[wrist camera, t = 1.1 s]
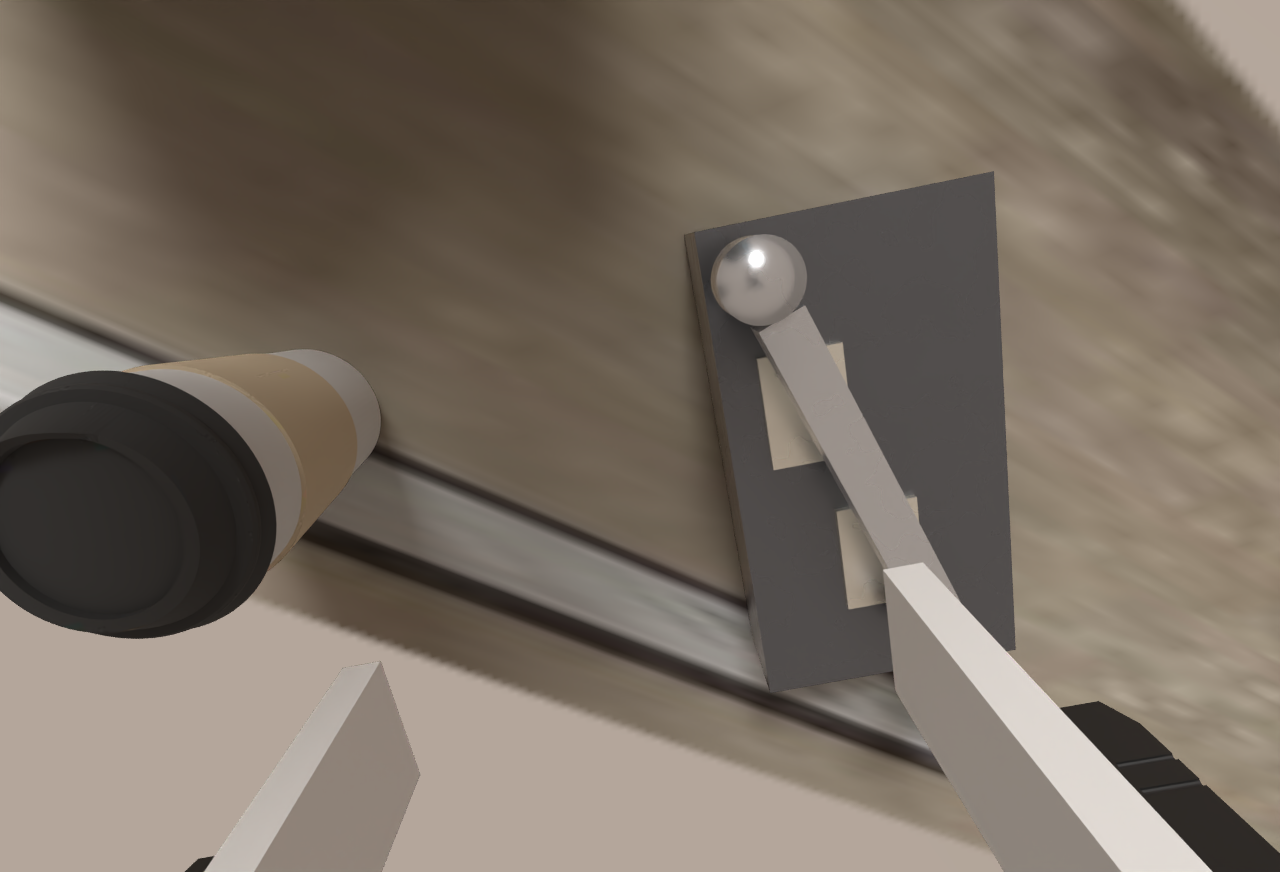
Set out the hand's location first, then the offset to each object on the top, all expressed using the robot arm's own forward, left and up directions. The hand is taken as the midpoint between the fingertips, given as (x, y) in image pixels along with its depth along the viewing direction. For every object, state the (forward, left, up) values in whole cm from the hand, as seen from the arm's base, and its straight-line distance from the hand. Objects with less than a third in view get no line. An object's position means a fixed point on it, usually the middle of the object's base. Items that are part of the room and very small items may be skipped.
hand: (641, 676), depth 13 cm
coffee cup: (-3, -16, -22) cm, 27 cm away
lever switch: (+3, +10, -22) cm, 24 cm away
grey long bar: (+2, +9, -14) cm, 16 cm away
